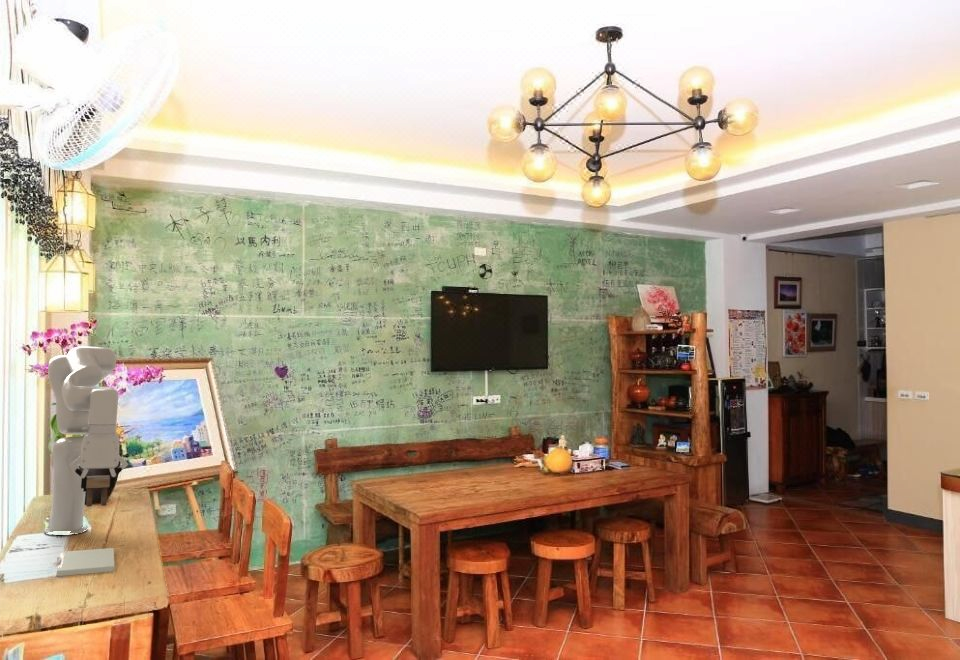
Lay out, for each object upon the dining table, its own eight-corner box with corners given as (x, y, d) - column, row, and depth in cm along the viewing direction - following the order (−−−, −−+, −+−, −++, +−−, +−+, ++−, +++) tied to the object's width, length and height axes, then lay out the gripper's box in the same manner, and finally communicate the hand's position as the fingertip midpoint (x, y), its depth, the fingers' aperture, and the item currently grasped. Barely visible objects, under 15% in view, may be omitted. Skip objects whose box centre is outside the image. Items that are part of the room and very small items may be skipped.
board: (60, 556, 203) (60, 551, 203) (113, 552, 210) (113, 547, 210) (56, 576, 188) (56, 570, 188) (114, 571, 194) (114, 566, 194)
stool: (84, 502, 206) (86, 476, 206) (107, 501, 209) (109, 475, 209) (84, 507, 201) (86, 479, 201) (108, 505, 204) (109, 478, 204)
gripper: (68, 431, 198) (63, 494, 197) (134, 431, 207) (130, 491, 206) (68, 428, 205) (64, 489, 204) (133, 428, 213) (129, 486, 212)
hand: (97, 489), depth 205 cm, fingers closed on stool, 6 cm apart
